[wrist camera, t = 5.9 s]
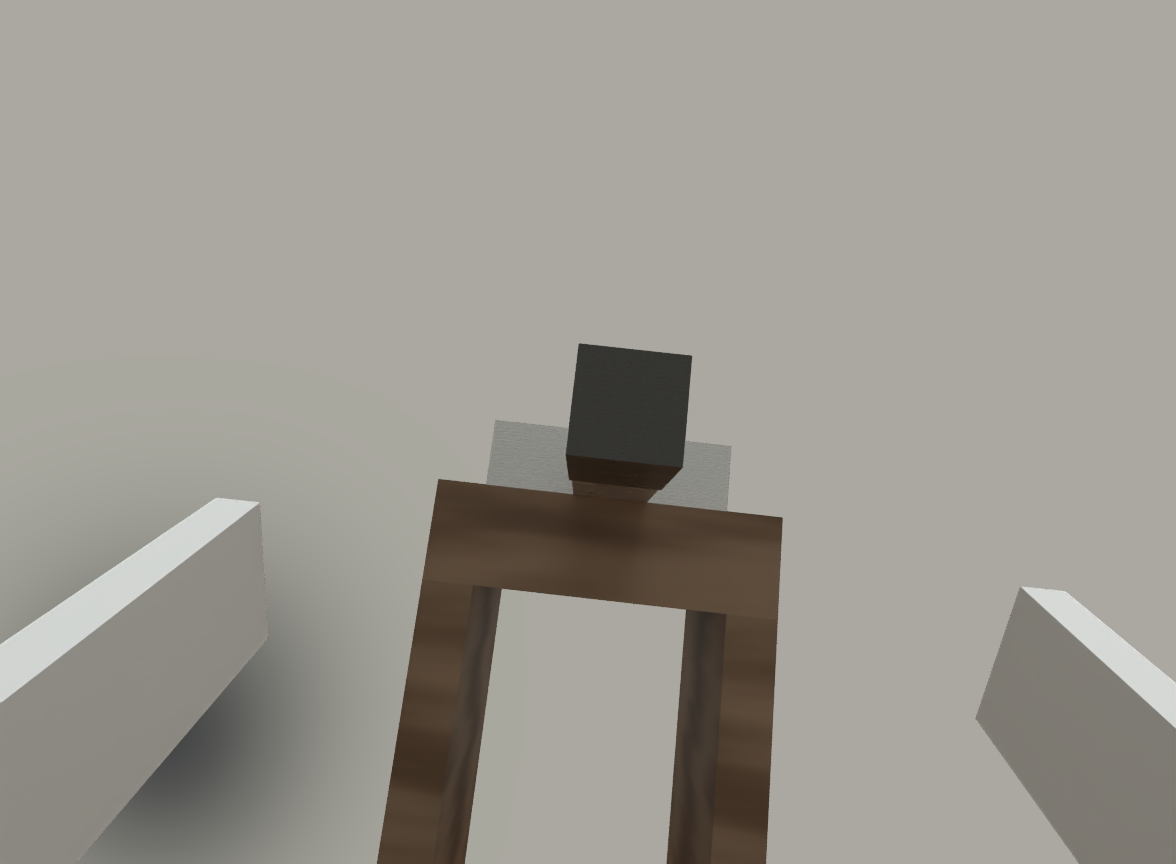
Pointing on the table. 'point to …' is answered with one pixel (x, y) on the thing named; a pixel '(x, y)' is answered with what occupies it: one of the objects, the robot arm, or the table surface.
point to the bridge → (605, 572)
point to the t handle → (618, 437)
